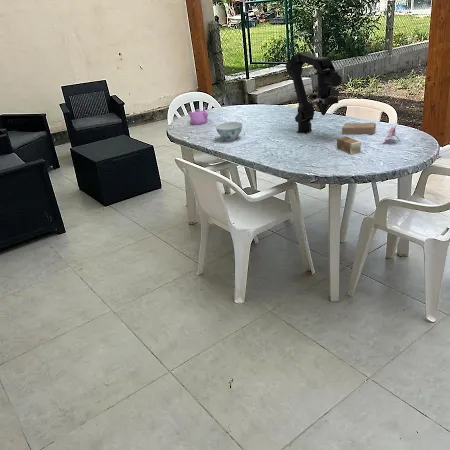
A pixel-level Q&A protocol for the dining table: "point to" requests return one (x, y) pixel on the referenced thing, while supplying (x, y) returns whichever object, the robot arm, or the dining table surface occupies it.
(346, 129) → the brick
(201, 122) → the teapot
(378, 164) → the dining table surface
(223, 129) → the chinaware
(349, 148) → the walnut block
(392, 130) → the lily
